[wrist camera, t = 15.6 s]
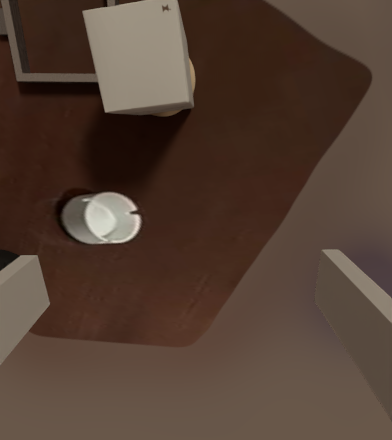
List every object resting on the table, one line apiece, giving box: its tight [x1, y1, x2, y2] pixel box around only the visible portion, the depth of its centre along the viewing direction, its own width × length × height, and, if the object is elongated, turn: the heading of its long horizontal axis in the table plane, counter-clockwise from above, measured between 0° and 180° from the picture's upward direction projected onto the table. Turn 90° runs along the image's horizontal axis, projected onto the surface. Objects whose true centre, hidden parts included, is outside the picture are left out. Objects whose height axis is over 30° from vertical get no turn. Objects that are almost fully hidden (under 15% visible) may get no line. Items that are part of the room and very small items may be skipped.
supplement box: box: [83, 0, 194, 115], centre depth 32 cm, size 9×9×15 cm
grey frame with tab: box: [0, 0, 119, 84], centre depth 37 cm, size 19×15×2 cm
